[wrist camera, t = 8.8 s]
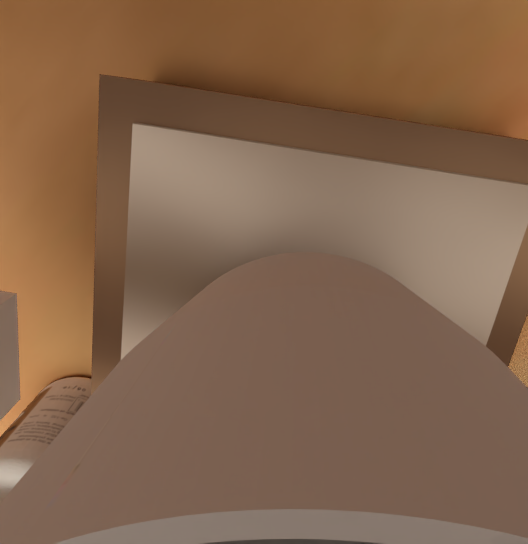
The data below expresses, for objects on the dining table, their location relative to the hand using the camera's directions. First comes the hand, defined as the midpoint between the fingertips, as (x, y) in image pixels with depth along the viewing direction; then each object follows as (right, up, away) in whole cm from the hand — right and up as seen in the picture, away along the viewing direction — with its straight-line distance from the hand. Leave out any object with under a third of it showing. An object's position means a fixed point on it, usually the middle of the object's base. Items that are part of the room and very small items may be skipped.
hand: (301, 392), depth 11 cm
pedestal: (0, +3, +7) cm, 8 cm away
